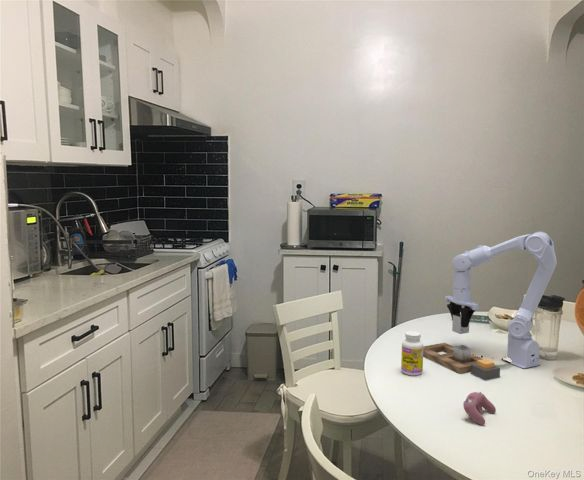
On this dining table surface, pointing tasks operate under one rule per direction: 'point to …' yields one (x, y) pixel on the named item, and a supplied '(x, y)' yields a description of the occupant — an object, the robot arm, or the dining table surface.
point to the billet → (462, 354)
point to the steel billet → (459, 325)
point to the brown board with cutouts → (447, 357)
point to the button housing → (485, 372)
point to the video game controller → (478, 406)
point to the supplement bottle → (412, 354)
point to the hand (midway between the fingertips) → (460, 325)
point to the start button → (485, 364)
